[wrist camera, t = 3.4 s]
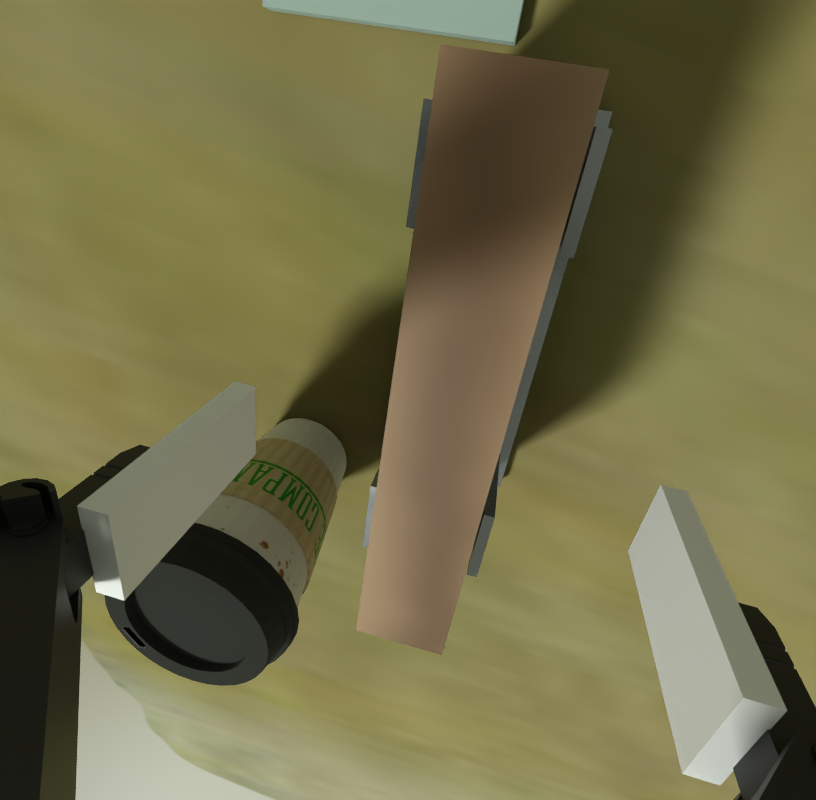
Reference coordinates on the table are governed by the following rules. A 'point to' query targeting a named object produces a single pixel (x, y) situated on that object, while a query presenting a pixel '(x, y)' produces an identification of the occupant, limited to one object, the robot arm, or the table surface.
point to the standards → (565, 251)
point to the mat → (419, 15)
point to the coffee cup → (240, 563)
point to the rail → (469, 319)
